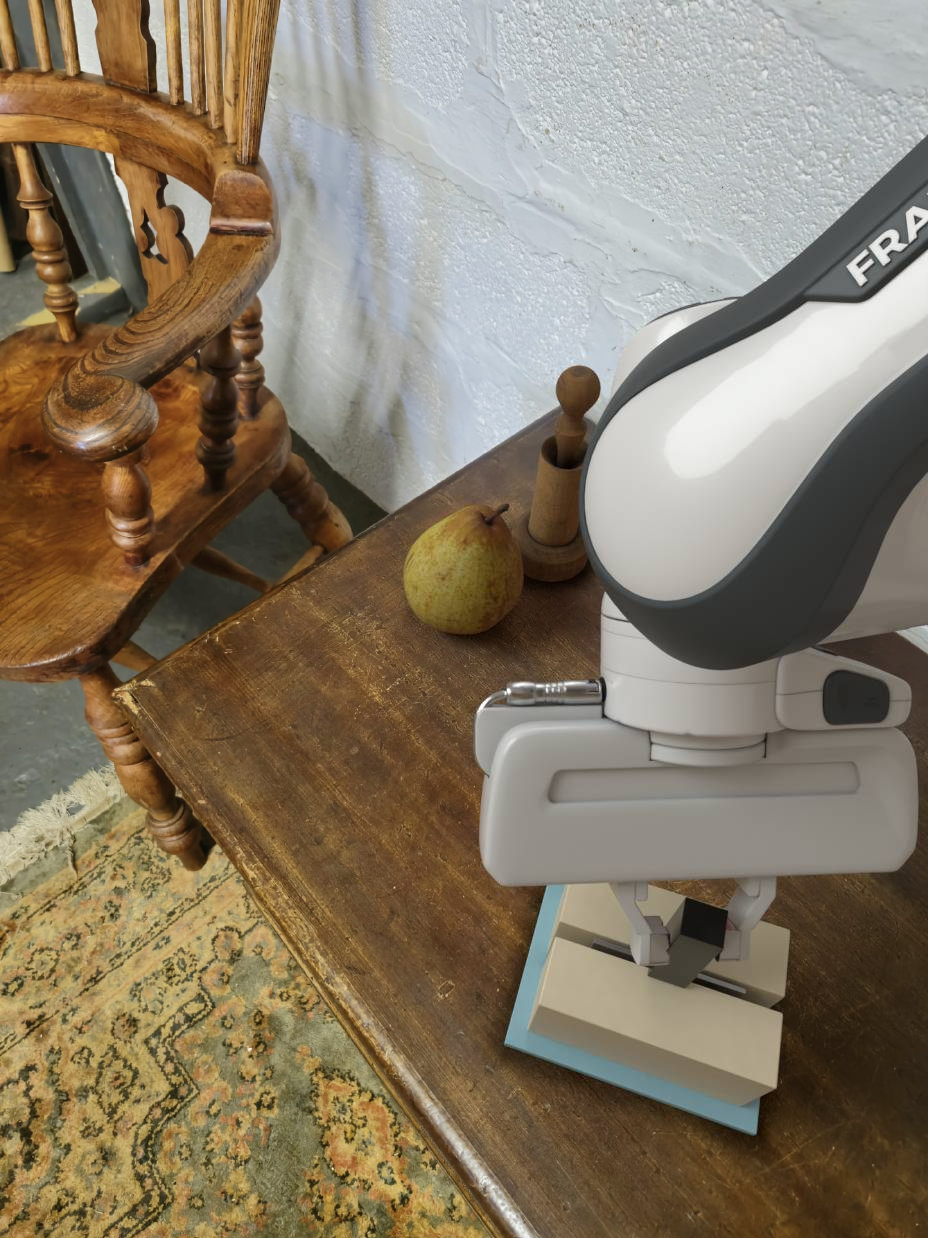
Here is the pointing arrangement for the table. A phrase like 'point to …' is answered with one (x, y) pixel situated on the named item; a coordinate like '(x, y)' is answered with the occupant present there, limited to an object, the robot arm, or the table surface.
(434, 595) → the fruit
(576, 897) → the slide lever switch
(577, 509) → the mortar and pestle
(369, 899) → the table surface
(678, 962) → the slider knob post
